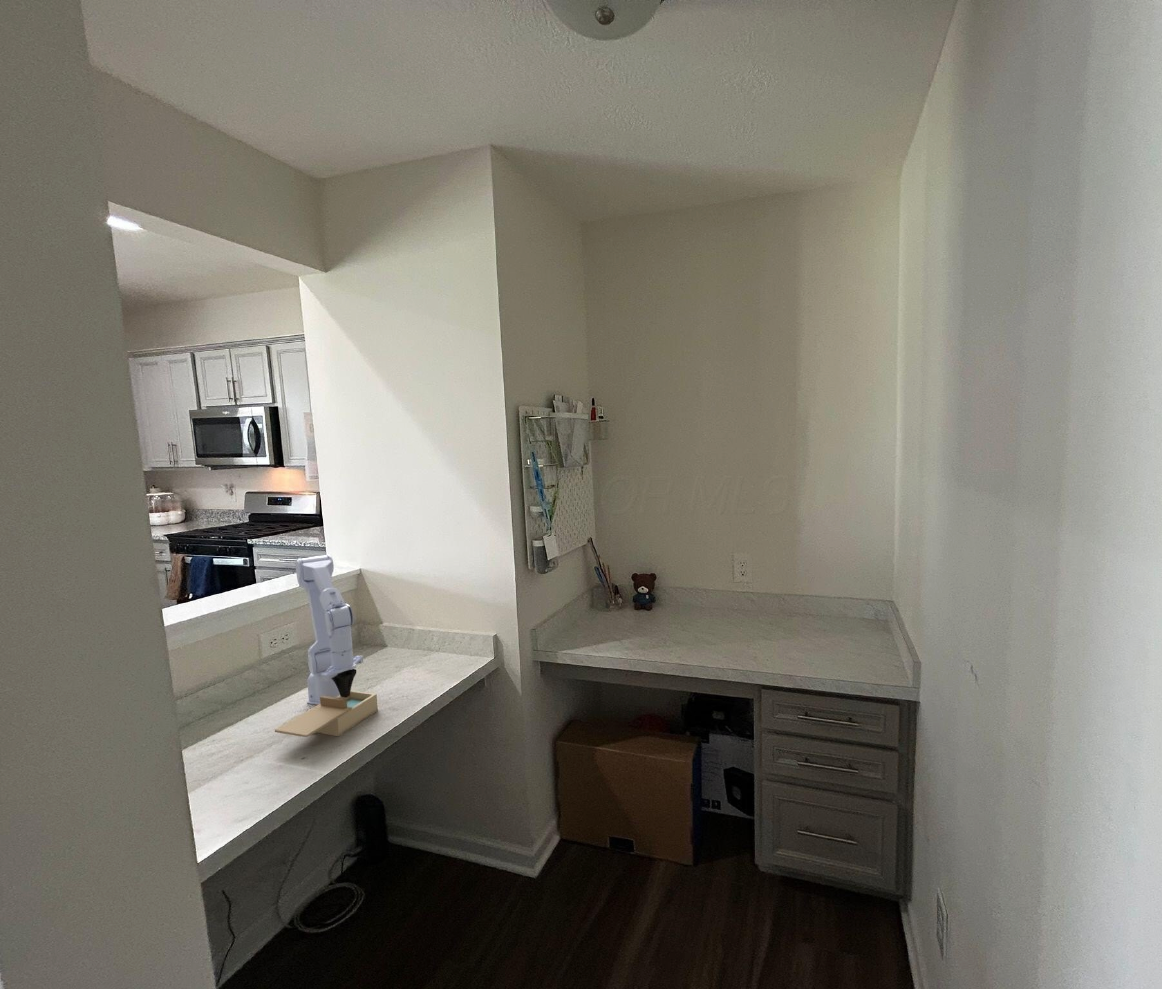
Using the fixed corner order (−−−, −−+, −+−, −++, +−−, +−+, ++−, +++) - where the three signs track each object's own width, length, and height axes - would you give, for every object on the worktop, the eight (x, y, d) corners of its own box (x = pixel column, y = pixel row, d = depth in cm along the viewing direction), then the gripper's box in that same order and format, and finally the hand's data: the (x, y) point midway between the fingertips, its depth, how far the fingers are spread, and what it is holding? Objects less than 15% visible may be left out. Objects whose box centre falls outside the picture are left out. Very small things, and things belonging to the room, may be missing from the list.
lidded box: (349, 706, 185) (348, 689, 185) (377, 710, 182) (376, 693, 181) (309, 731, 170) (307, 713, 170) (339, 736, 167) (337, 718, 166)
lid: (321, 704, 175) (320, 694, 175) (351, 709, 171) (351, 698, 171) (274, 732, 160) (273, 720, 159) (306, 737, 156) (305, 726, 156)
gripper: (334, 660, 167) (338, 709, 168) (370, 642, 180) (373, 687, 182) (313, 657, 169) (317, 706, 171) (350, 640, 183) (354, 684, 184)
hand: (345, 696), depth 176 cm, fingers closed
